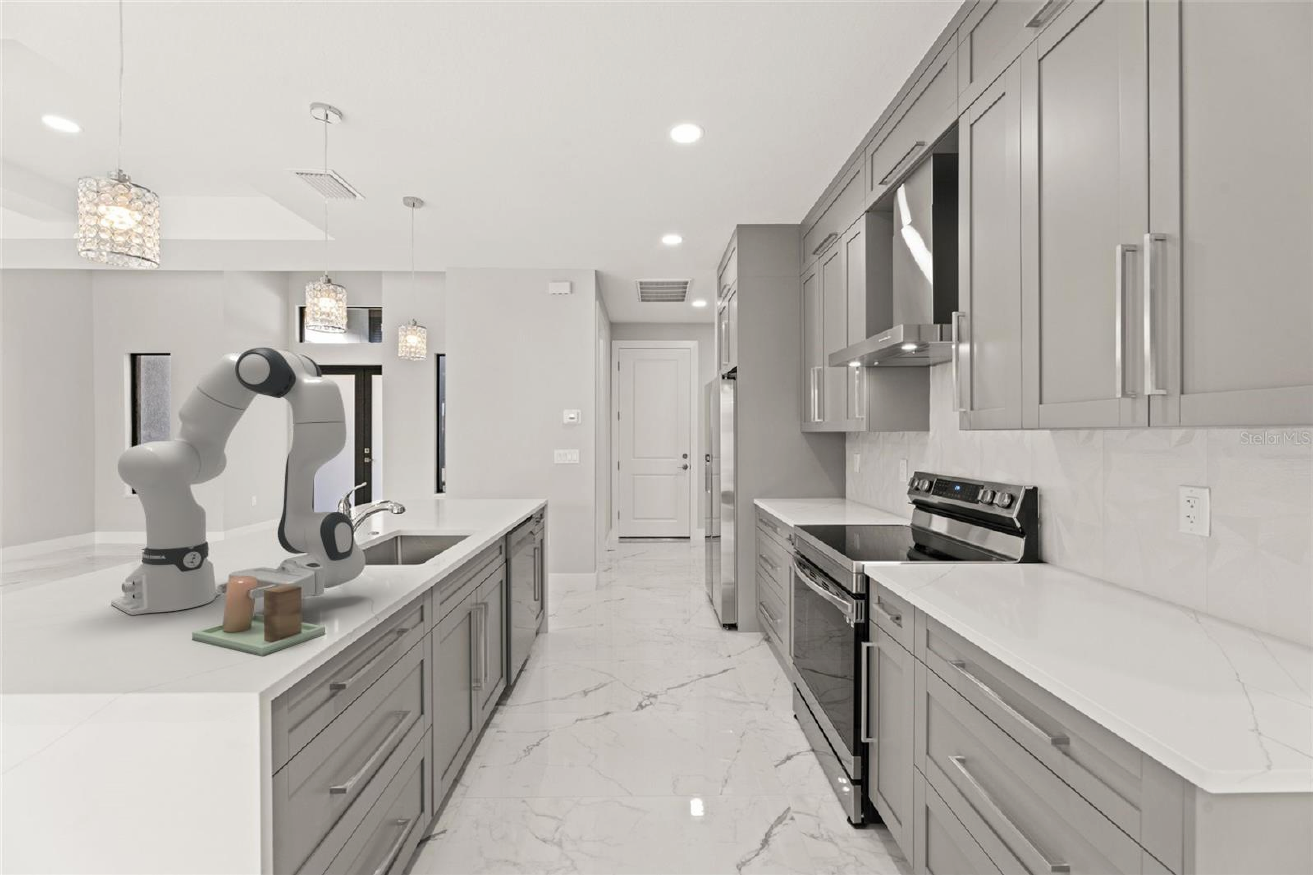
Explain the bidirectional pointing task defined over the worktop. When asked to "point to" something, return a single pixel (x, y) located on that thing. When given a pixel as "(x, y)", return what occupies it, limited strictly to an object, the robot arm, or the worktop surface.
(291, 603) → the walnut block
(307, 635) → the tray
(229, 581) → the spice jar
